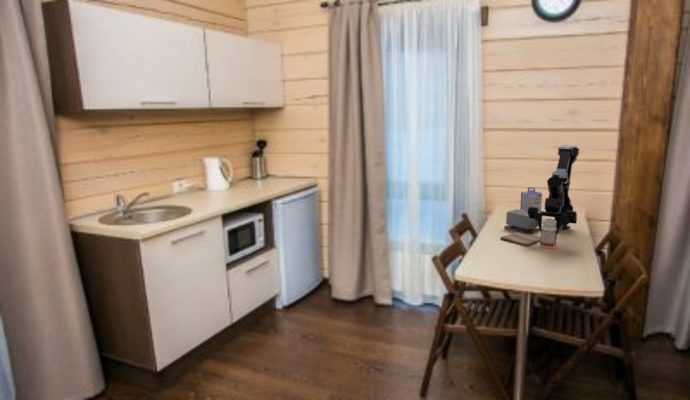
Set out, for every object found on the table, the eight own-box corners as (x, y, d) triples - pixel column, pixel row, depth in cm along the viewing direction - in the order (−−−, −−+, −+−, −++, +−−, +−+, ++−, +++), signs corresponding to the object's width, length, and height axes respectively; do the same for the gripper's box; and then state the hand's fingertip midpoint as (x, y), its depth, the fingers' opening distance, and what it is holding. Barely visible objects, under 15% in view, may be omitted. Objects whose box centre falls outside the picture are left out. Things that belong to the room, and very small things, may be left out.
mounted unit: (515, 224, 225) (516, 208, 223) (540, 230, 214) (541, 213, 213) (504, 228, 219) (505, 212, 218) (529, 234, 209) (530, 217, 207)
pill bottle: (547, 243, 196) (548, 217, 194) (559, 247, 191) (561, 221, 188) (536, 245, 194) (538, 219, 191) (548, 249, 188) (550, 223, 186)
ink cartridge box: (539, 214, 243) (541, 187, 240) (541, 216, 238) (543, 189, 234) (519, 213, 245) (521, 186, 242) (521, 216, 240) (522, 189, 236)
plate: (517, 233, 211) (517, 231, 210) (544, 240, 200) (544, 238, 200) (500, 239, 203) (500, 237, 203) (527, 246, 193) (527, 244, 193)
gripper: (530, 188, 195) (522, 219, 189) (578, 192, 185) (572, 225, 179) (532, 202, 203) (525, 232, 197) (579, 207, 193) (573, 239, 187)
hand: (548, 232), depth 190 cm, fingers closed on pill bottle, 6 cm apart
